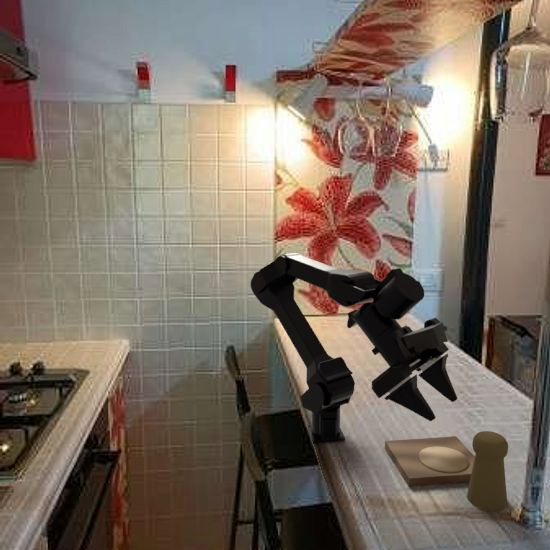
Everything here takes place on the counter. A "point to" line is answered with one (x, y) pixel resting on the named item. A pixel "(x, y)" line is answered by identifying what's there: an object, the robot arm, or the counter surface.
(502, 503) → the pepper shaker
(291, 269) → the robot arm
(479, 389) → the counter surface
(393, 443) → the plate
